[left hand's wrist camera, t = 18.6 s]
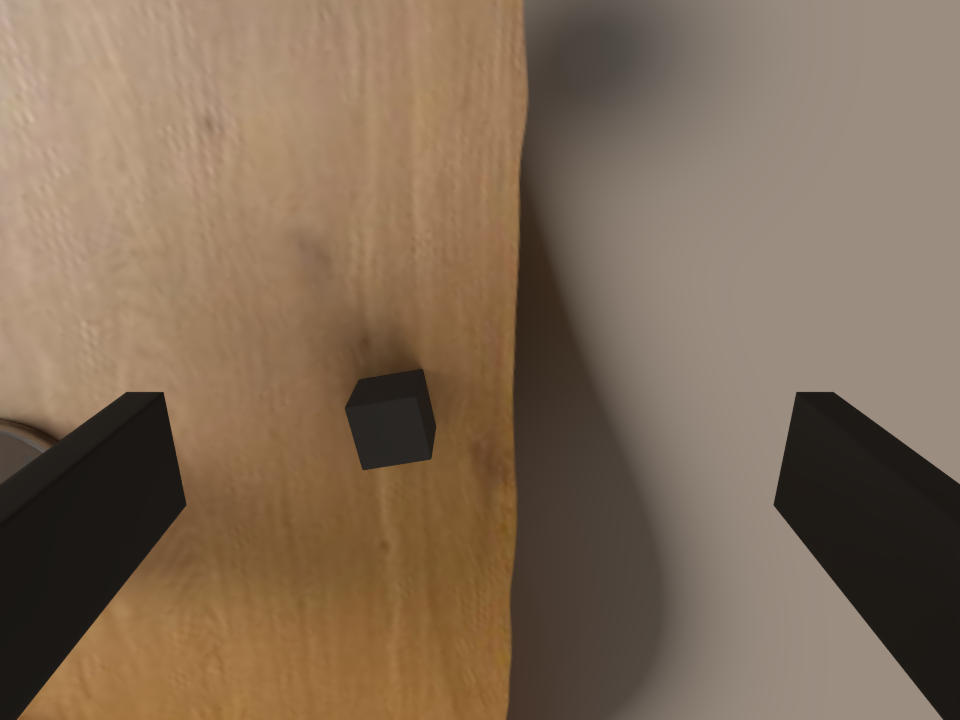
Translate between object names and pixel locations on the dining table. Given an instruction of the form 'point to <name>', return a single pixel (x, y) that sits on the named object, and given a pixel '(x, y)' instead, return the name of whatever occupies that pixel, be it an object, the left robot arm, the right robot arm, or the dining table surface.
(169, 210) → the dining table surface
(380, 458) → the rubber block
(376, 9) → the dining table surface
